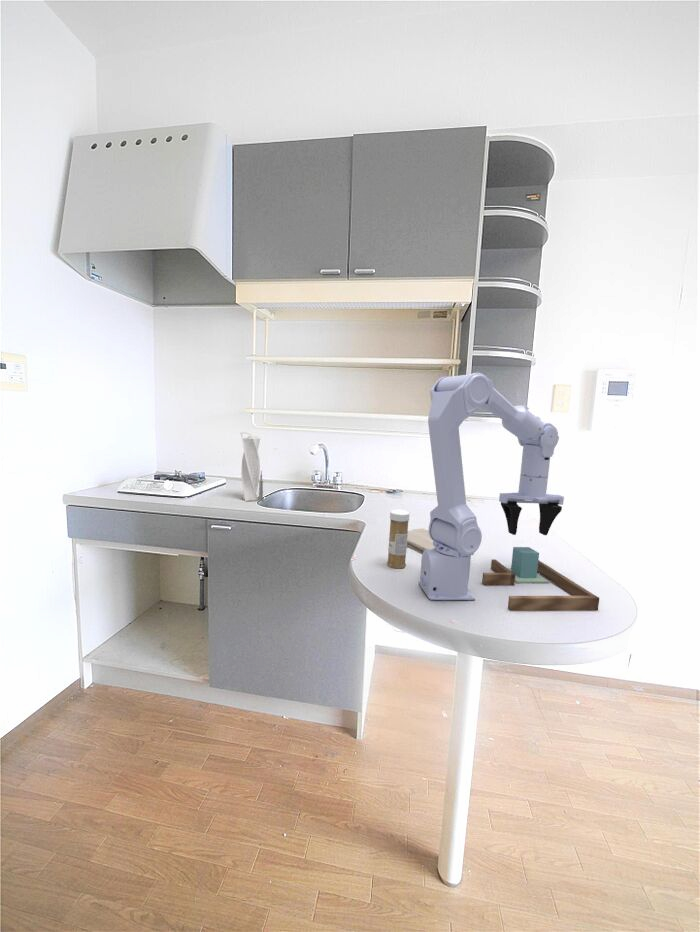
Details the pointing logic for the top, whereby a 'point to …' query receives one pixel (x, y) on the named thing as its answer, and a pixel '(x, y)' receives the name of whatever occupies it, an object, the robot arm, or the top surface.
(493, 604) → the top surface
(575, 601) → the channel
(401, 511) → the sprinkles bottle
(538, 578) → the pad
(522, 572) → the teal block
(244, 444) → the skyscraper
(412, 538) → the washcloth
